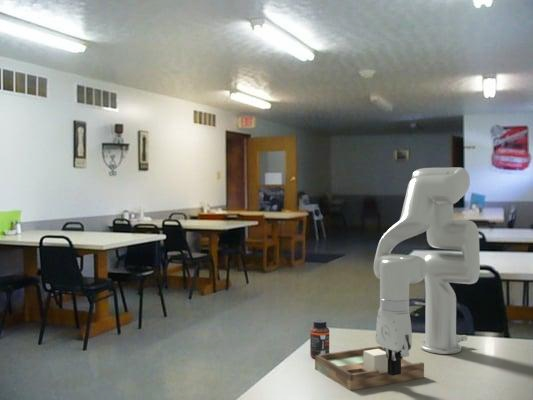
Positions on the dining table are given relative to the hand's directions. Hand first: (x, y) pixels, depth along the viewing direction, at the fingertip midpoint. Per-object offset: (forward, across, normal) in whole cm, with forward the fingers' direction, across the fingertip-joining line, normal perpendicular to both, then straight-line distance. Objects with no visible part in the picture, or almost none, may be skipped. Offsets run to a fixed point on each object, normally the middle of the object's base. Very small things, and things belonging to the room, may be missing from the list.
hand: (394, 373), depth 148 cm
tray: (+4, -12, 0) cm, 12 cm away
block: (+1, -7, -1) cm, 7 cm away
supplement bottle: (+4, -31, -5) cm, 32 cm away
